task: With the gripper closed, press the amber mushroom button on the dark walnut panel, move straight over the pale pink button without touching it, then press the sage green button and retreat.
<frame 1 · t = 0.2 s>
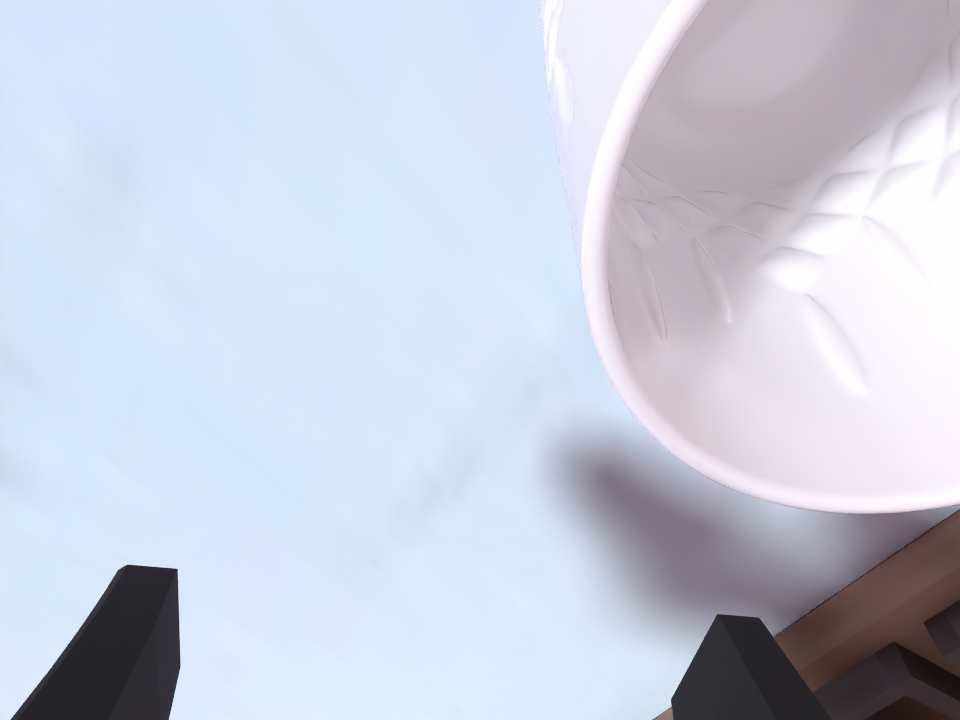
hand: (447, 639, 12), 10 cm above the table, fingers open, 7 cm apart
button panel: (856, 682, 30), on the table
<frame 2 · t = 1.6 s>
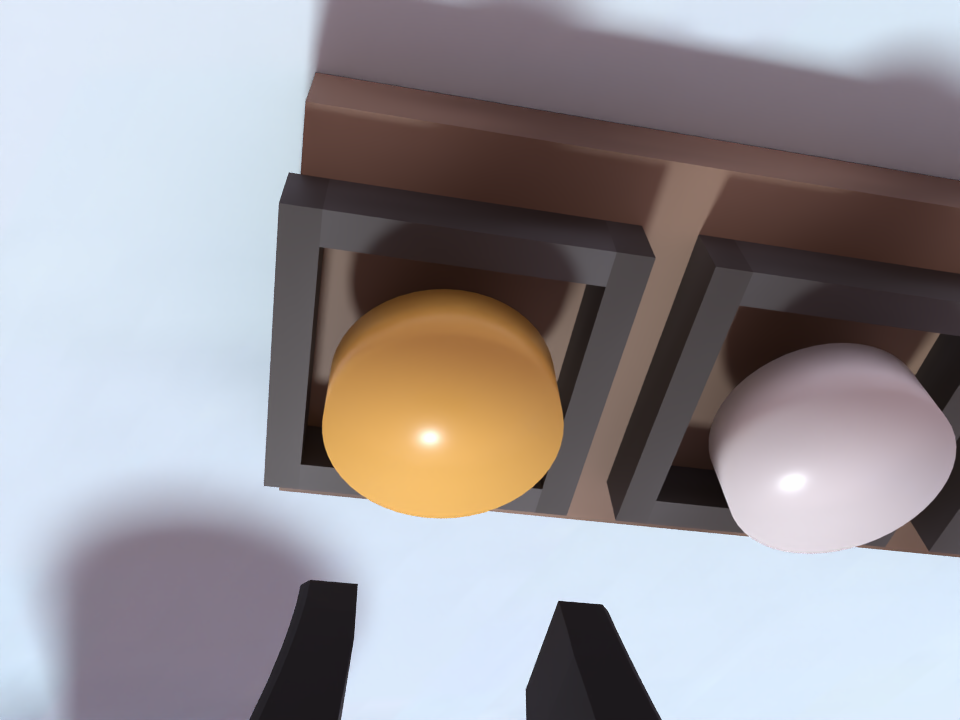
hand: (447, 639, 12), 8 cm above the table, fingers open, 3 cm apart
button panel: (769, 348, 19), on the table
amber button: (443, 408, 16), point 4 cm above the table, slide at 0.0 cm
pale pink button: (826, 452, 17), point 4 cm above the table, slide at 0.0 cm
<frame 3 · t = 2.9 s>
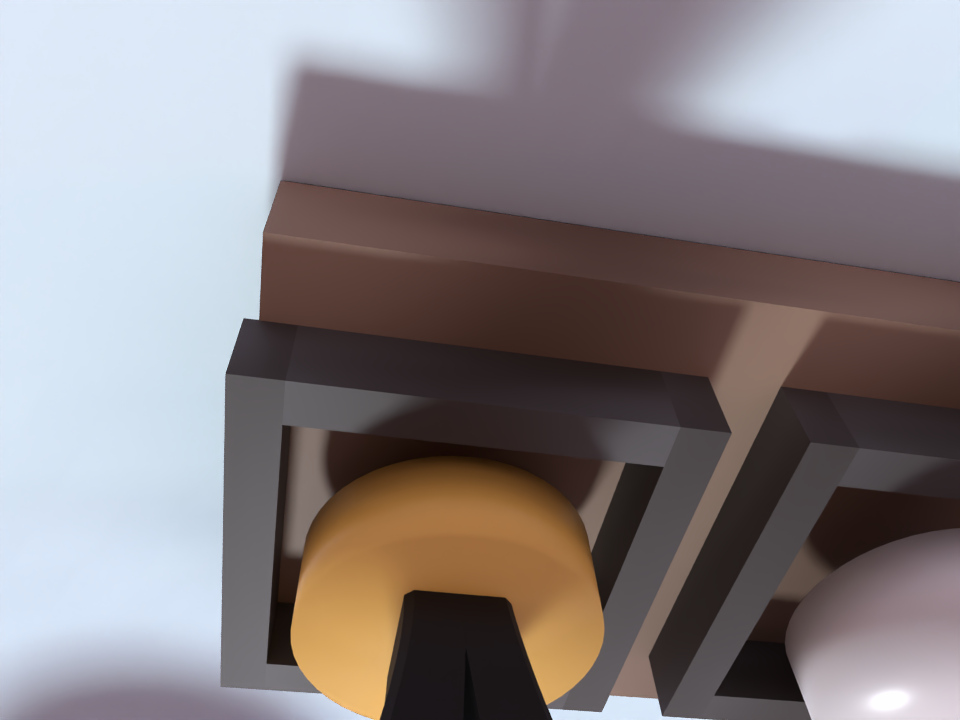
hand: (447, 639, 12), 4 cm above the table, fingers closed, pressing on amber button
button panel: (849, 493, 16), on the table
amber button: (448, 600, 12), point 3 cm above the table, slide at 0.3 cm, touching gripper
pale pink button: (941, 659, 13), point 4 cm above the table, slide at 0.0 cm
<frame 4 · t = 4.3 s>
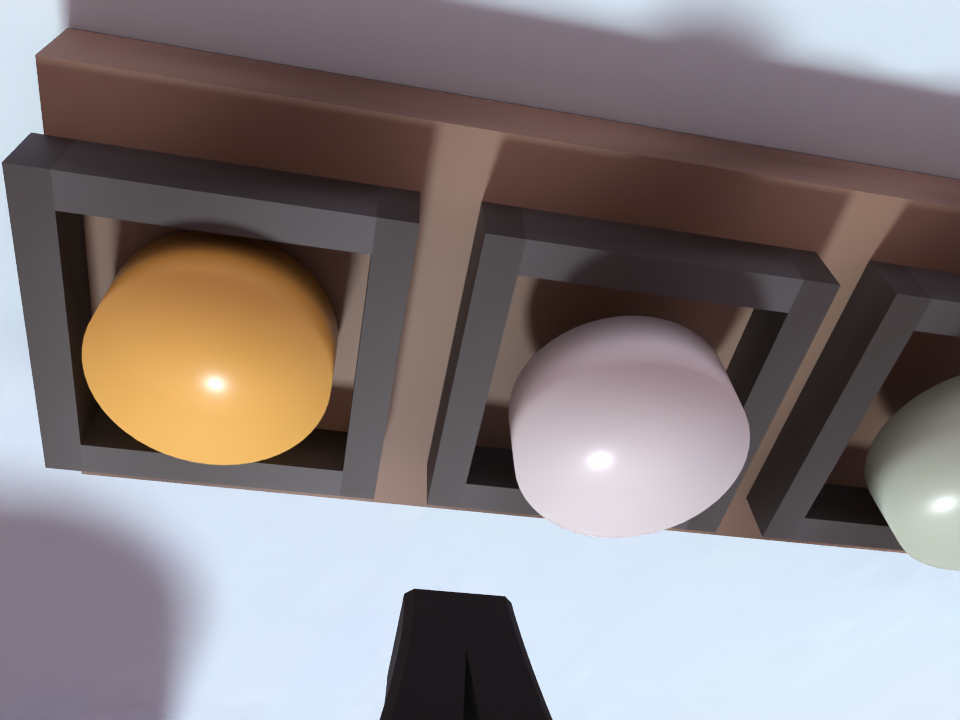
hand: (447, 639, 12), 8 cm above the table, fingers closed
button panel: (594, 325, 19), on the table
amber button: (217, 352, 15), point 3 cm above the table, slide at 0.9 cm
pale pink button: (624, 431, 16), point 4 cm above the table, slide at 0.0 cm
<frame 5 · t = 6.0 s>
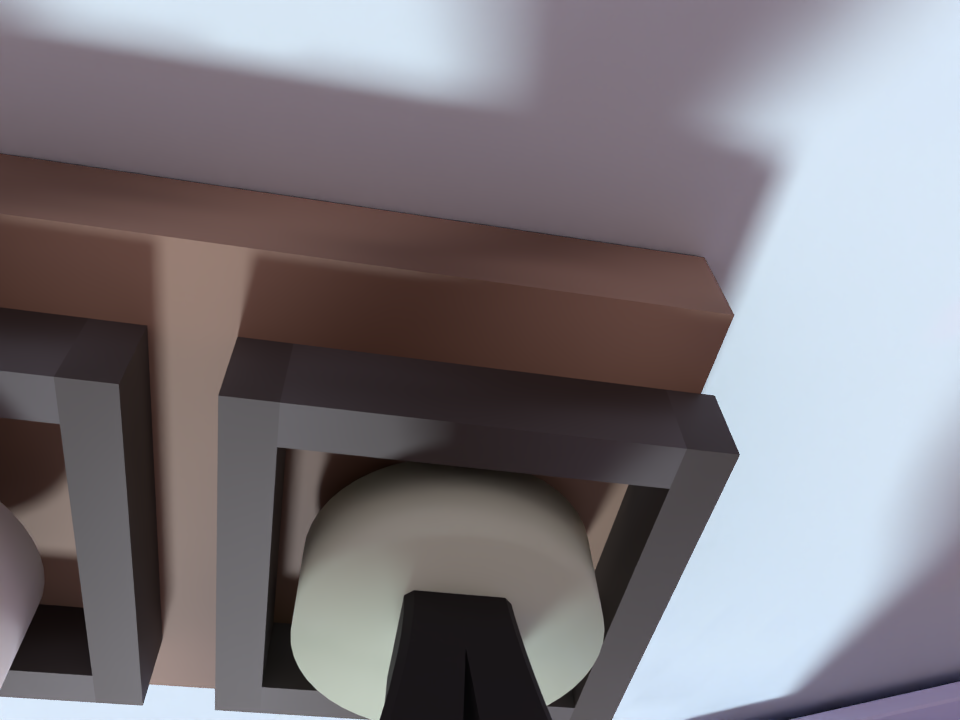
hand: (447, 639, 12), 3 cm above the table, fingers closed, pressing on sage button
sage button: (448, 600, 12), point 3 cm above the table, slide at 0.7 cm, touching gripper
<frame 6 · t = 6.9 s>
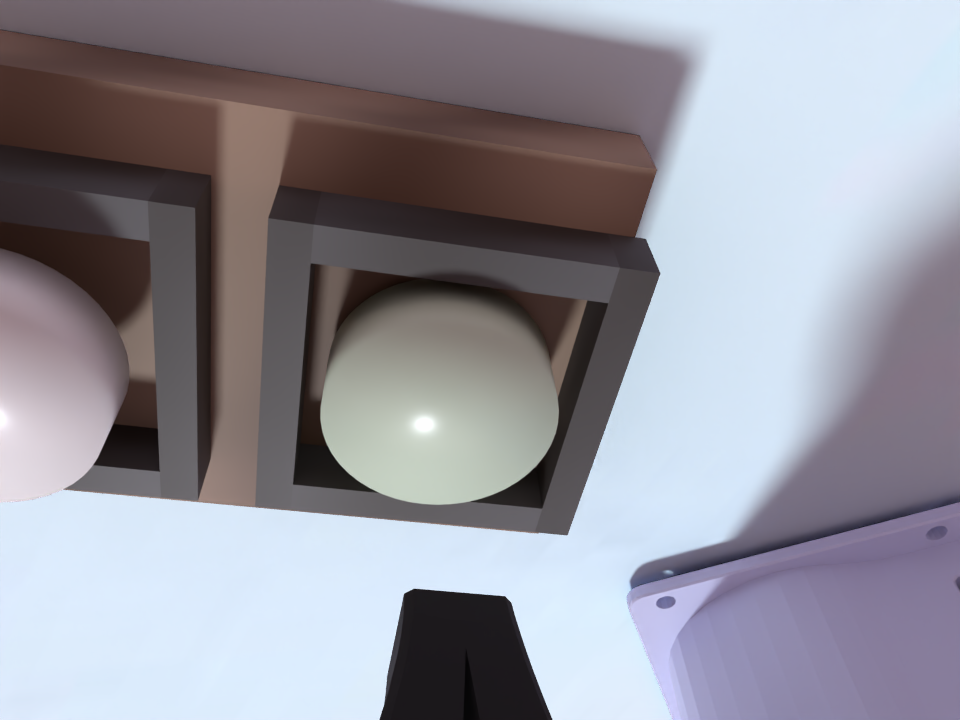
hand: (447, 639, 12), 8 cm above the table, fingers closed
sage button: (440, 396, 16), point 3 cm above the table, slide at 0.9 cm
button panel: (57, 269, 17), on the table
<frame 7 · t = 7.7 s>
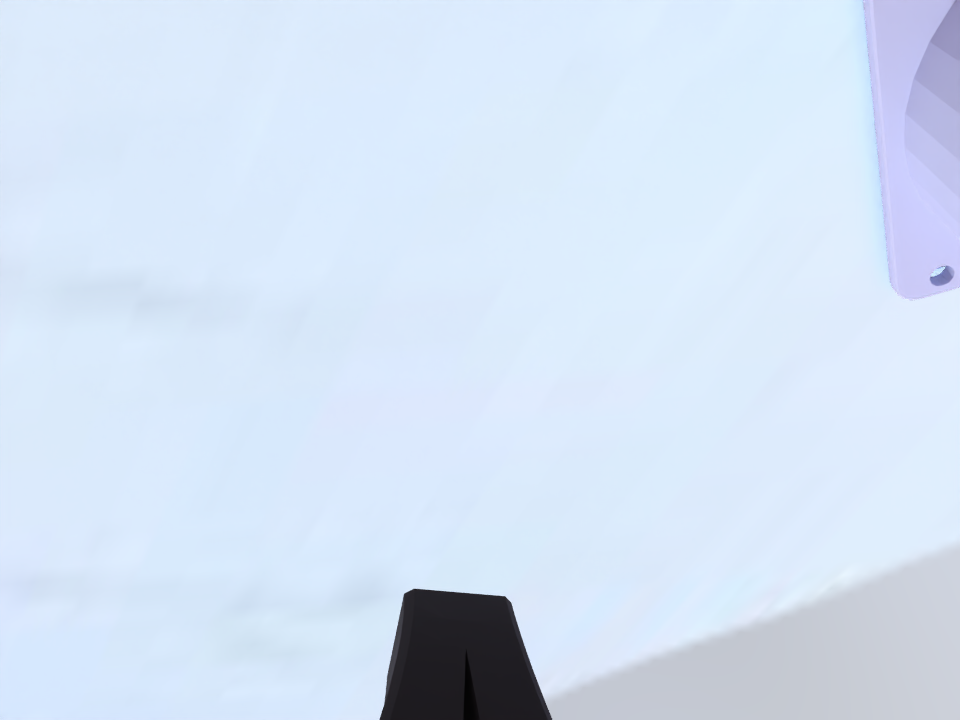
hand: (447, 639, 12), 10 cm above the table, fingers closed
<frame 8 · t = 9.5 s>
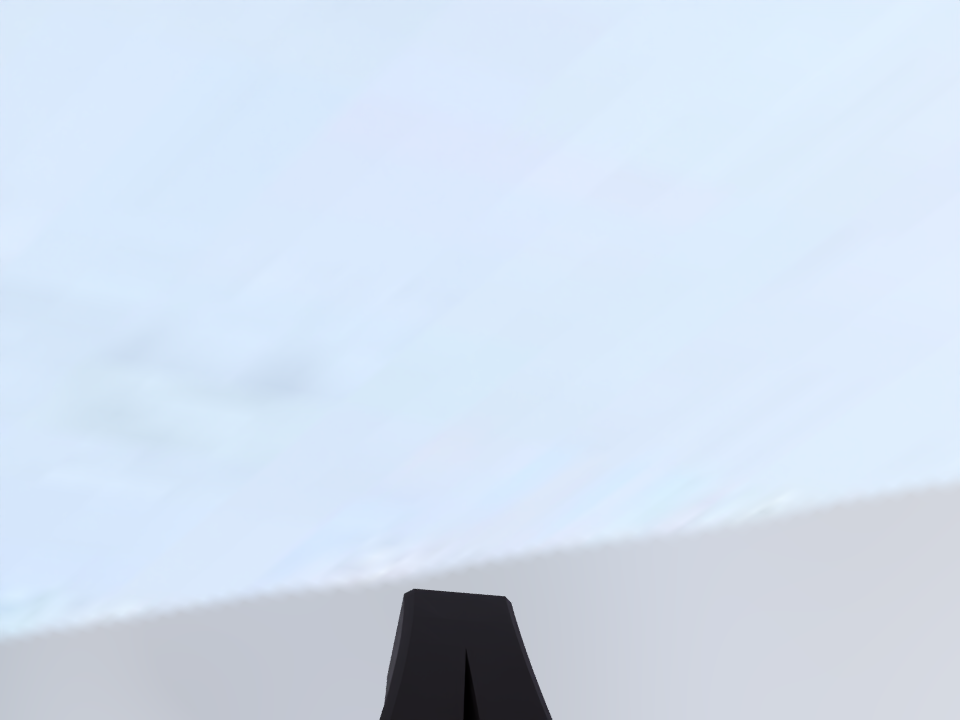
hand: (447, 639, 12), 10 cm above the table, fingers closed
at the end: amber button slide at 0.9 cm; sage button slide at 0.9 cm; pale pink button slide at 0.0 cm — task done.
